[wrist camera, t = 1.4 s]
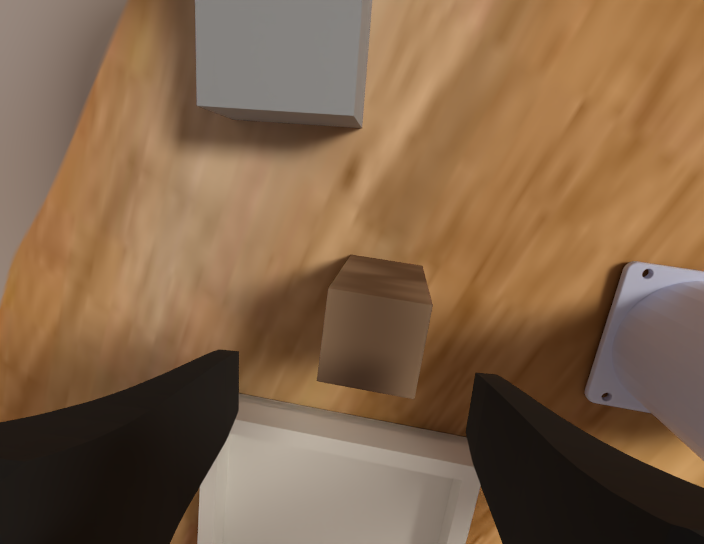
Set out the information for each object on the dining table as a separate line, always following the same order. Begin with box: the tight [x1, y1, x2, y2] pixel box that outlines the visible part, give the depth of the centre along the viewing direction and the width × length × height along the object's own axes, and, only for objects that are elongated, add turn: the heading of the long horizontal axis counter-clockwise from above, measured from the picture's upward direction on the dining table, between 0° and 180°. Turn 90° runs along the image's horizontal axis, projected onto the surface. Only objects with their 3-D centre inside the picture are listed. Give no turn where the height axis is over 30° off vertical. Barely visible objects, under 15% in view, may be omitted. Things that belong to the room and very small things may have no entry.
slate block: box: [195, 0, 372, 128], centre depth 18 cm, size 7×7×4 cm
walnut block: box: [317, 255, 433, 399], centre depth 18 cm, size 4×4×7 cm
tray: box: [197, 393, 481, 544], centre depth 24 cm, size 16×14×2 cm
